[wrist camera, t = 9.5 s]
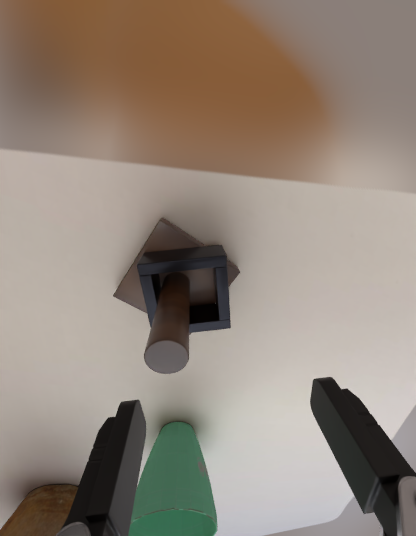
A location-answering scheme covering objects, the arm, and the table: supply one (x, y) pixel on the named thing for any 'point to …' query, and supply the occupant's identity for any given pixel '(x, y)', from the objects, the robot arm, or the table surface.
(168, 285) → the post
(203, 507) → the mug
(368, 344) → the table surface
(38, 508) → the potted plant
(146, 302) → the ring
